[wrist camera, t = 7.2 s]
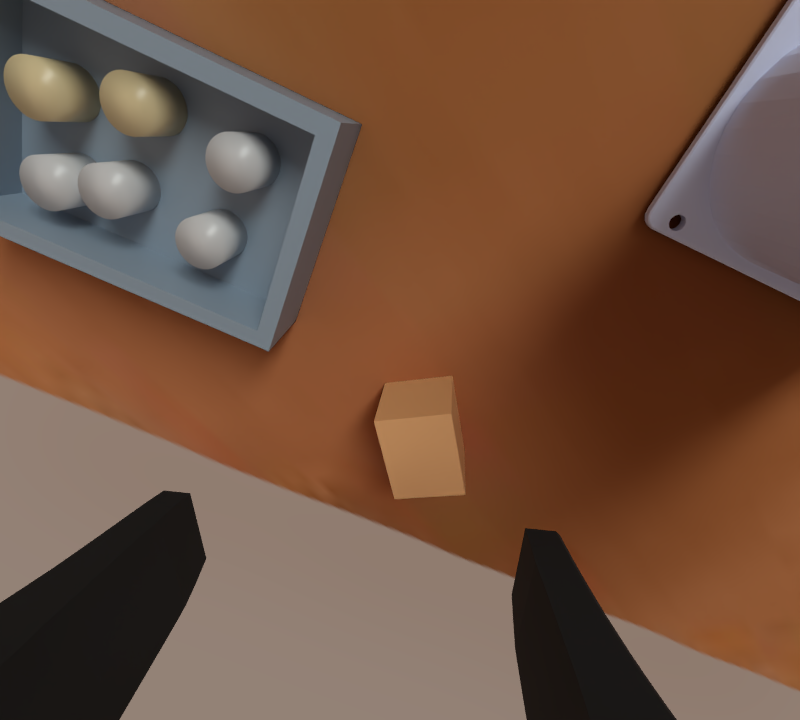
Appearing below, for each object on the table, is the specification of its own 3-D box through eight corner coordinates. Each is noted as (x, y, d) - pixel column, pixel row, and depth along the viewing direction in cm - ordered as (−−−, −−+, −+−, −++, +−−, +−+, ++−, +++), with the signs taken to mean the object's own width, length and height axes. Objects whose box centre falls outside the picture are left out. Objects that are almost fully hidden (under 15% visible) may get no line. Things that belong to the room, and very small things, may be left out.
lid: (561, 306, 18) (582, 344, 15) (568, 469, 22) (586, 527, 18) (277, 345, 20) (243, 385, 17) (326, 486, 24) (305, 541, 21)
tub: (361, 124, 15) (340, 122, 13) (295, 320, 19) (268, 351, 16) (17, -41, 14) (-83, -81, 12) (17, 199, 18) (-59, 211, 15)
